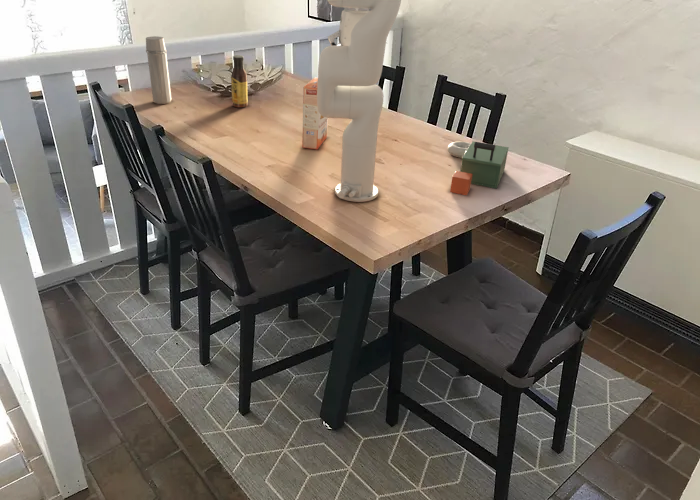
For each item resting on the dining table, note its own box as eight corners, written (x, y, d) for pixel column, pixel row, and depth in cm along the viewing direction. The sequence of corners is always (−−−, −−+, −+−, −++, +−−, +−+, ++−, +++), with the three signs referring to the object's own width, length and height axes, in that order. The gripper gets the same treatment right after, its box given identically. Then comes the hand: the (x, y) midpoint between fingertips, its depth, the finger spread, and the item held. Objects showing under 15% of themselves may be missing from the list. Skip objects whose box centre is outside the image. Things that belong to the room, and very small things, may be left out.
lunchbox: (496, 188, 173) (500, 166, 169) (458, 181, 176) (462, 159, 172) (504, 171, 185) (508, 149, 182) (468, 164, 189) (472, 143, 185)
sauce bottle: (230, 104, 235) (227, 54, 225) (245, 103, 237) (243, 53, 227) (234, 108, 230) (232, 58, 220) (249, 107, 232) (247, 57, 222)
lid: (500, 166, 168) (504, 148, 166) (461, 159, 172) (464, 142, 169) (508, 149, 182) (511, 132, 179) (472, 143, 185) (474, 126, 182)
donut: (442, 150, 200) (454, 160, 192) (443, 140, 198) (455, 150, 190) (468, 148, 203) (481, 158, 194) (469, 139, 201) (482, 148, 193)
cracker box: (318, 150, 194) (320, 88, 183) (301, 148, 195) (301, 86, 184) (328, 137, 206) (330, 78, 195) (312, 135, 206) (313, 76, 196)
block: (466, 195, 167) (469, 179, 165) (450, 192, 169) (452, 176, 166) (470, 189, 171) (472, 173, 169) (453, 186, 173) (455, 170, 170)
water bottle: (152, 100, 235) (144, 36, 222) (172, 99, 237) (165, 36, 225) (152, 106, 227) (144, 40, 215) (173, 105, 230) (166, 40, 217)
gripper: (332, 7, 167) (330, 67, 175) (388, 8, 172) (383, 66, 180) (326, 4, 173) (324, 62, 182) (380, 5, 178) (376, 61, 186)
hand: (354, 64), depth 181 cm, fingers open, 9 cm apart
